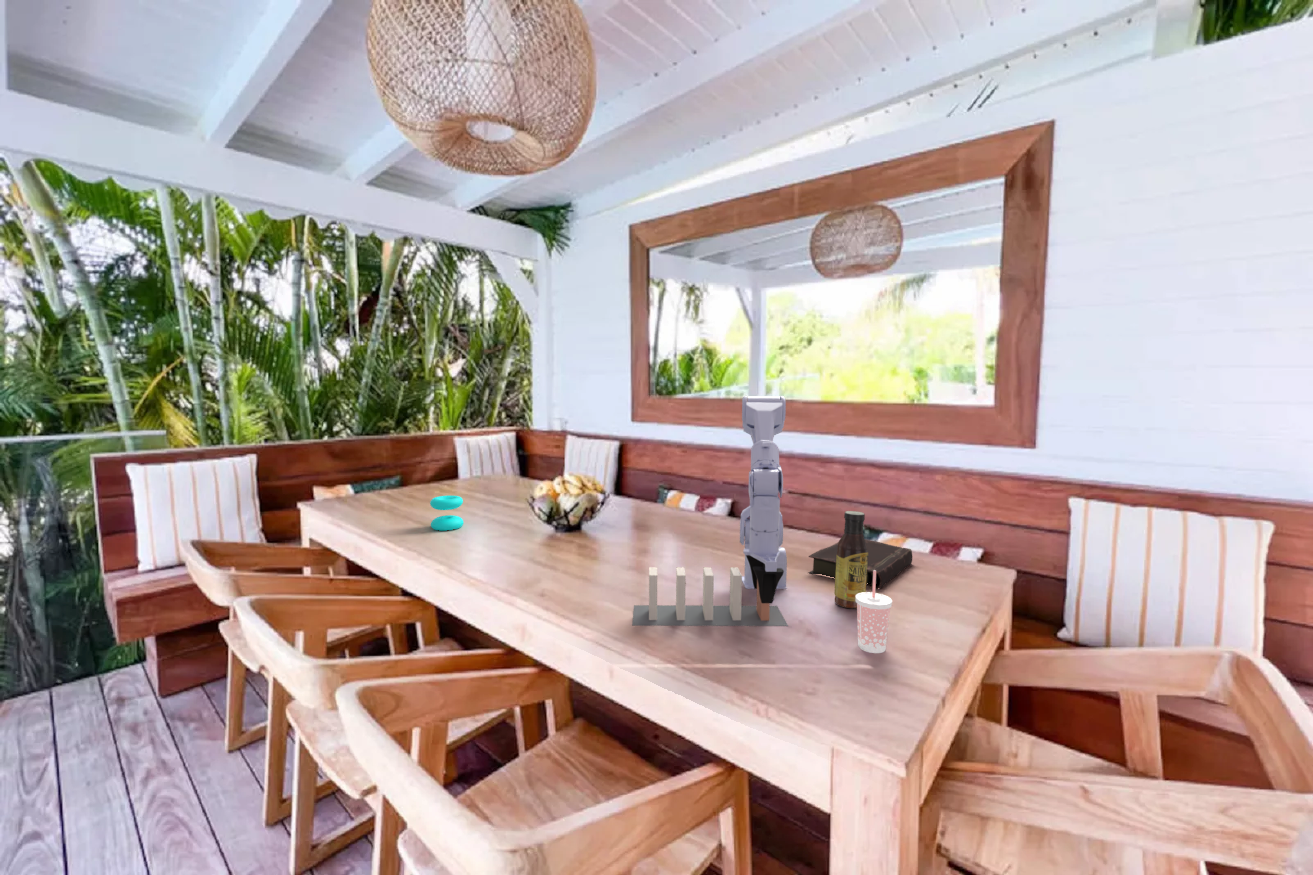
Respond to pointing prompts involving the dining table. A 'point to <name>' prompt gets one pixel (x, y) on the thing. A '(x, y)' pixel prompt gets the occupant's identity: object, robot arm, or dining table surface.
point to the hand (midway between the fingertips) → (762, 595)
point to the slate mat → (696, 618)
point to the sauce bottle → (851, 561)
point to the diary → (879, 558)
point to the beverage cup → (872, 619)
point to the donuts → (449, 520)
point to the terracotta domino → (762, 607)
